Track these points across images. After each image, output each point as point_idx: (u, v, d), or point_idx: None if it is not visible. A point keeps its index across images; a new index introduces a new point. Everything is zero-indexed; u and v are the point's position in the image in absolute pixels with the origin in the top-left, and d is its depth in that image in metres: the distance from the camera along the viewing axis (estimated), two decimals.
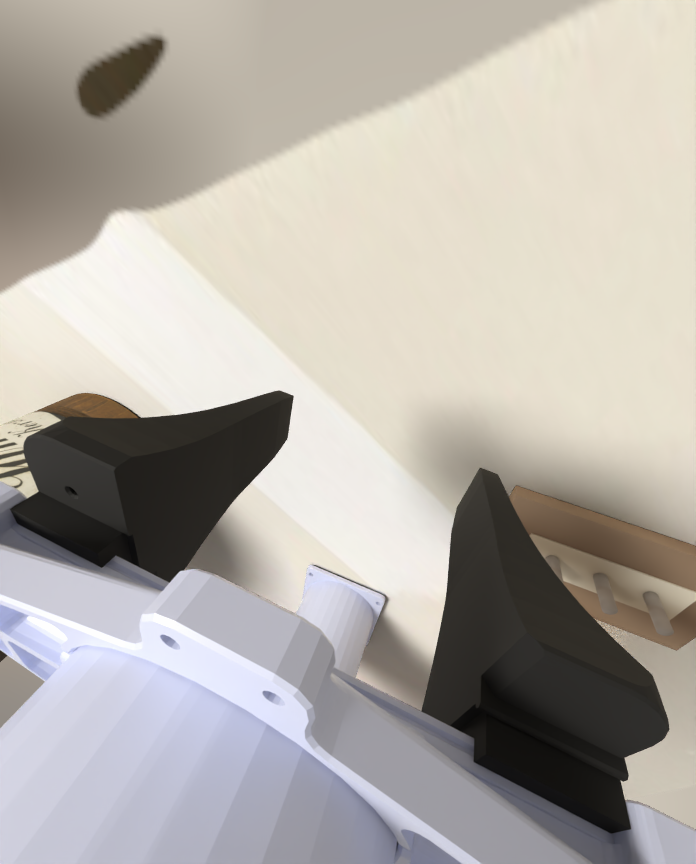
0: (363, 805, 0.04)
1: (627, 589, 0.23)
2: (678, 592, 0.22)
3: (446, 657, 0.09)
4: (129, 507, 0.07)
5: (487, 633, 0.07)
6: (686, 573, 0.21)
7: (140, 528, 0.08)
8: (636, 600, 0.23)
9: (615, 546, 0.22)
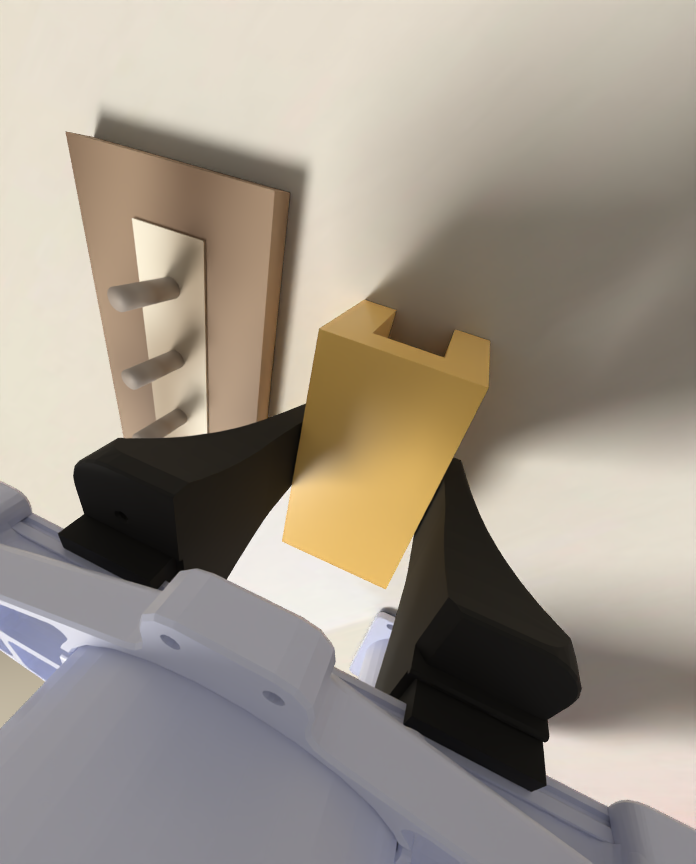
0: (363, 805, 0.04)
1: (177, 320, 0.14)
2: (149, 250, 0.13)
3: (397, 633, 0.09)
4: (182, 533, 0.07)
5: (425, 604, 0.07)
6: (116, 255, 0.14)
7: (189, 552, 0.07)
8: (189, 303, 0.14)
9: (127, 349, 0.16)
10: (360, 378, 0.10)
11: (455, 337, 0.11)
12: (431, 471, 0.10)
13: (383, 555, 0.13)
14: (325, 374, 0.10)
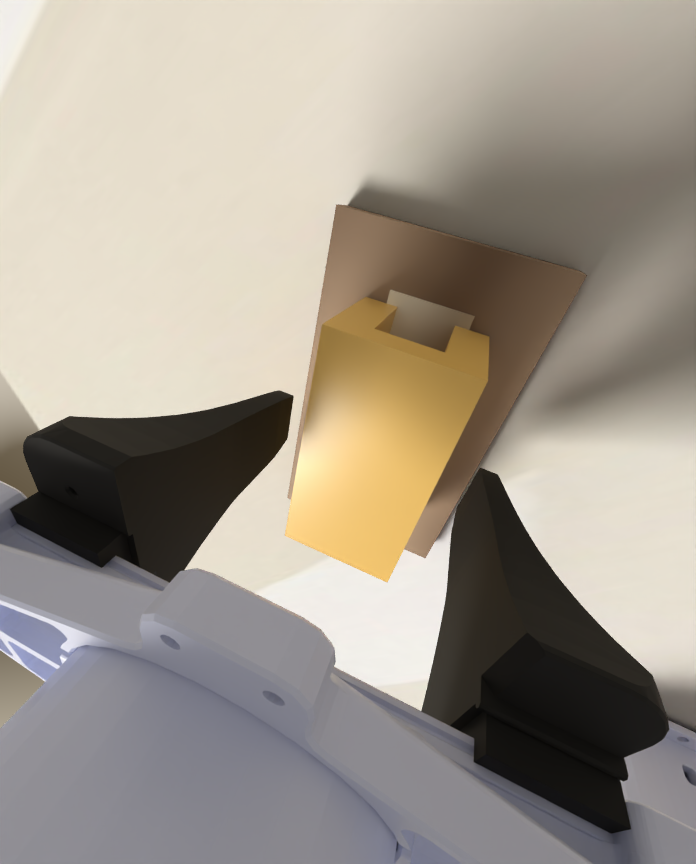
0: (363, 805, 0.04)
1: None
2: (398, 320, 0.13)
3: (446, 657, 0.09)
4: (129, 507, 0.07)
5: (487, 633, 0.07)
6: None
7: (140, 528, 0.08)
8: None
9: None
10: (362, 373, 0.10)
11: (455, 333, 0.11)
12: (432, 464, 0.10)
13: (385, 548, 0.13)
14: (328, 369, 0.10)
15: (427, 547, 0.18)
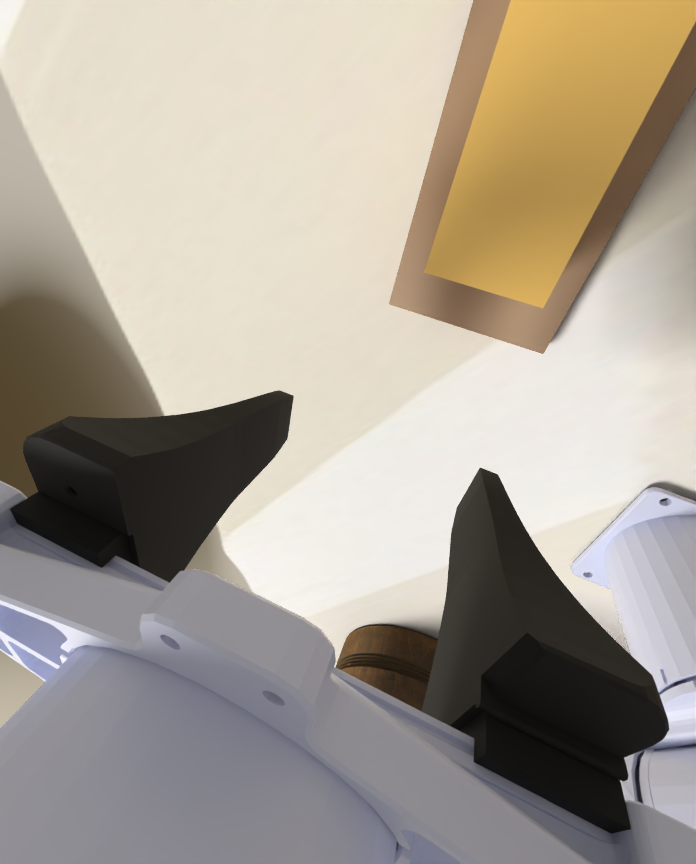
0: (363, 805, 0.04)
1: None
2: None
3: (446, 657, 0.09)
4: (129, 507, 0.07)
5: (487, 633, 0.07)
6: None
7: (140, 528, 0.08)
8: None
9: None
10: None
11: None
12: (650, 76, 0.09)
13: (552, 250, 0.12)
14: None
15: (548, 337, 0.17)
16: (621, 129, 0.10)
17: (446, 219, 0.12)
